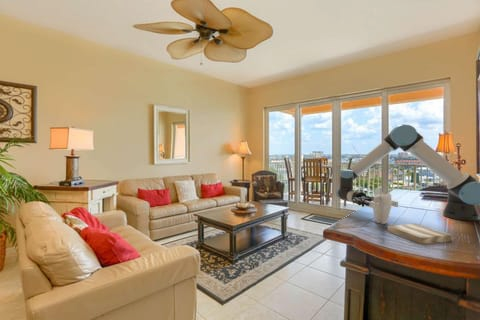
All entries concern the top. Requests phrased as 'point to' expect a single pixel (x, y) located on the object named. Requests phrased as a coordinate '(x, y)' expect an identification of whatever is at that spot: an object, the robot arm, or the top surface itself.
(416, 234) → the striped wooden trivet
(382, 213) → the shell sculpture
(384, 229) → the top surface
